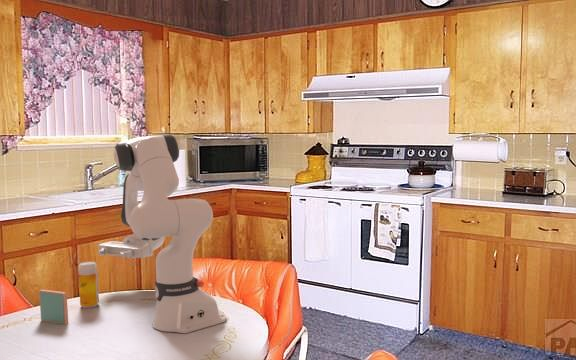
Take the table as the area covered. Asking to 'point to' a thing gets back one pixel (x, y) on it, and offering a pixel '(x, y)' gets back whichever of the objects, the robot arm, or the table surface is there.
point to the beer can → (88, 284)
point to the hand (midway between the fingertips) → (110, 254)
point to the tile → (53, 306)
